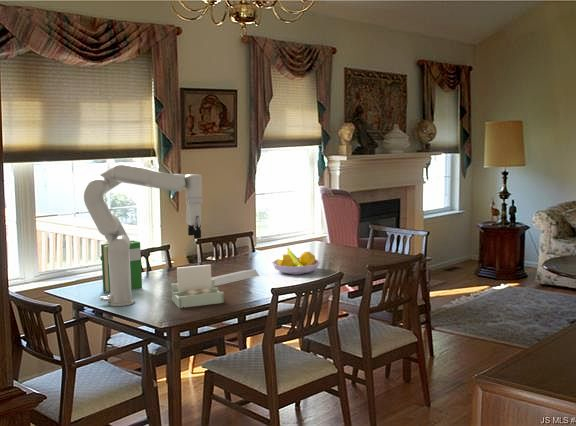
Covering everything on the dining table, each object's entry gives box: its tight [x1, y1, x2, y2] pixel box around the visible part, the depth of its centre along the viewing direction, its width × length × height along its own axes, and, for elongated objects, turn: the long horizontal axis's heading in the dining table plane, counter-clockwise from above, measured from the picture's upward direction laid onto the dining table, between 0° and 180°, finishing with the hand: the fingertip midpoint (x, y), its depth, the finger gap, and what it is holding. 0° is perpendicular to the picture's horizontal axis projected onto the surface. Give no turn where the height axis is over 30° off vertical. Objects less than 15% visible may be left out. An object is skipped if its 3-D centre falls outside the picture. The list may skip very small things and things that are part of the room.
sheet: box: [176, 264, 212, 292], centre depth 317 cm, size 16×2×16 cm, turn 113°
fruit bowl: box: [271, 247, 321, 276], centre depth 376 cm, size 28×27×11 cm
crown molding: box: [211, 268, 260, 287], centre depth 360 cm, size 31×12×4 cm, turn 136°
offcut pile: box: [185, 288, 211, 296], centre depth 311 cm, size 12×6×6 cm, turn 113°
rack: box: [170, 279, 225, 309], centre depth 313 cm, size 21×15×8 cm
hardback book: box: [100, 240, 143, 294], centre depth 338 cm, size 18×7×24 cm, turn 129°
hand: (194, 236), depth 315 cm, fingers open, 9 cm apart
